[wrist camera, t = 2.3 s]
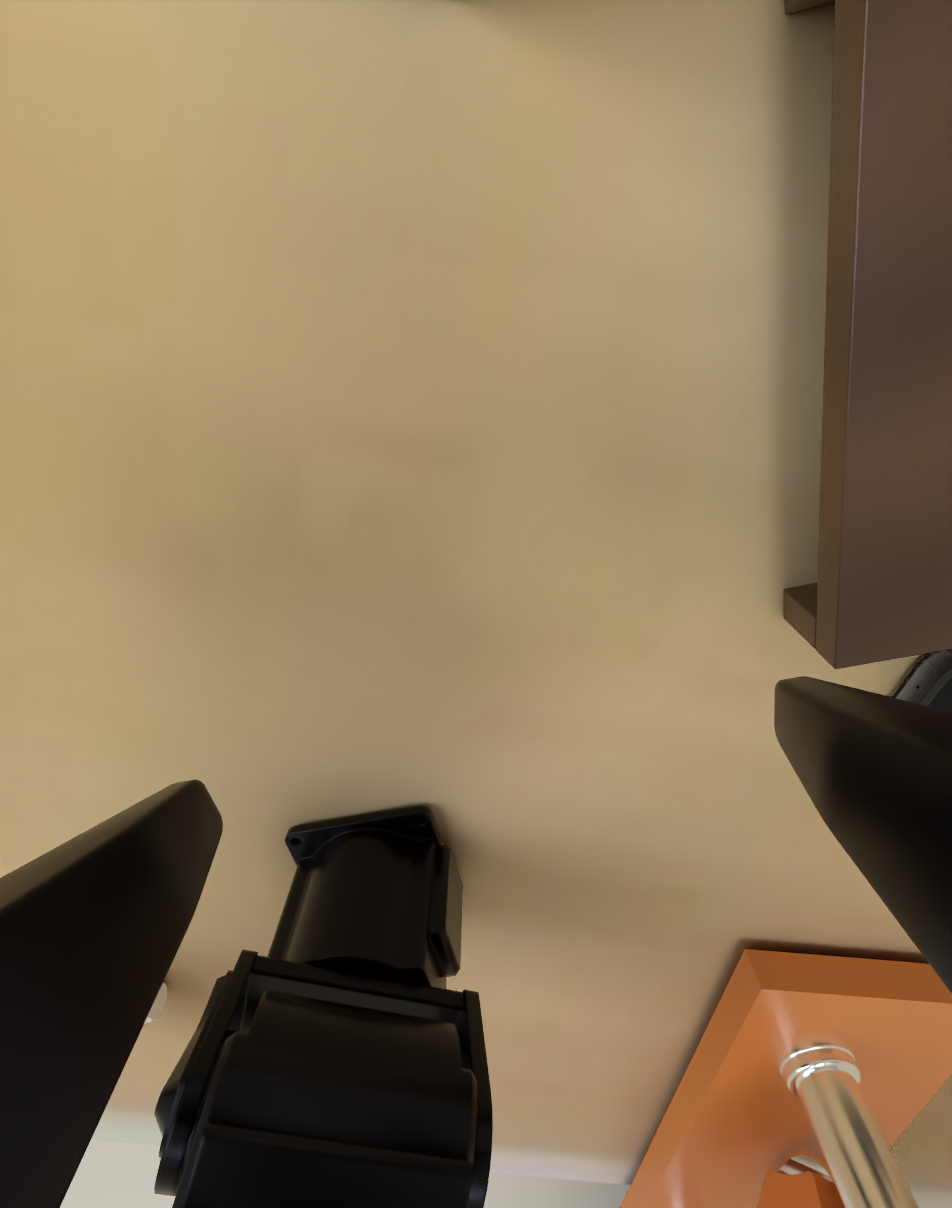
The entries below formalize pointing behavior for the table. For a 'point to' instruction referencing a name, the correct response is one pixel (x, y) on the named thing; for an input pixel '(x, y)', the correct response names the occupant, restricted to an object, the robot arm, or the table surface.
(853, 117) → the desk shelf
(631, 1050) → the table surface
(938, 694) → the phone
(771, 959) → the desk clock
